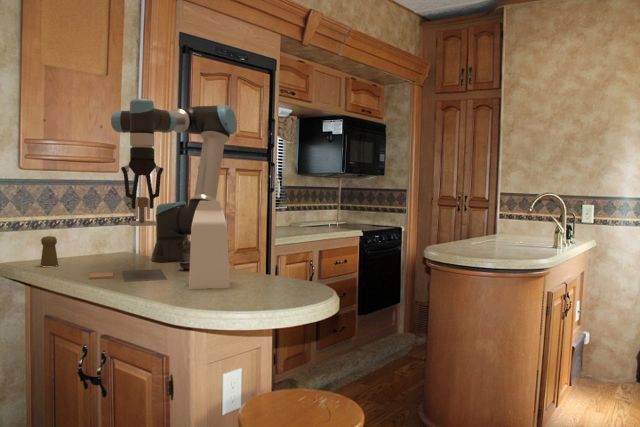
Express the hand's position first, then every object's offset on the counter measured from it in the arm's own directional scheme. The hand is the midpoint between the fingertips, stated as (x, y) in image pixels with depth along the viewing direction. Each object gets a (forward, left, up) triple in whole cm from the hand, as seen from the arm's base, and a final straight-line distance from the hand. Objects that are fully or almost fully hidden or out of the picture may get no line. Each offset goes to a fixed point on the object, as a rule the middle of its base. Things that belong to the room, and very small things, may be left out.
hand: (142, 218), depth 180 cm
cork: (+31, -35, -20) cm, 50 cm away
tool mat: (0, -1, -19) cm, 19 cm away
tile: (+13, -6, -19) cm, 24 cm away
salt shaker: (-15, -6, -20) cm, 26 cm away
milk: (-18, +20, -20) cm, 34 cm away
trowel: (0, -1, -2) cm, 2 cm away
